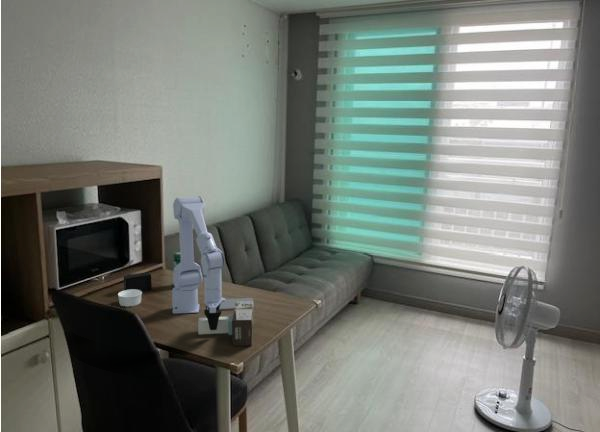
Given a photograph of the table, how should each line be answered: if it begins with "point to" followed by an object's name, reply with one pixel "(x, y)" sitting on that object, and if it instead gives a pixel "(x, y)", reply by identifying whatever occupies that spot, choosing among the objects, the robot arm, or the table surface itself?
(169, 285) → the table surface
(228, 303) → the tool mat
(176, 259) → the green electronic module
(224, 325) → the two-tone t-shaped block
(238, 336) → the coffee box
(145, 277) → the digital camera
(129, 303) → the ramekin
